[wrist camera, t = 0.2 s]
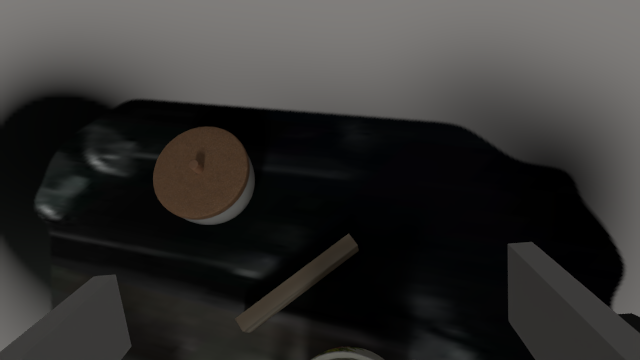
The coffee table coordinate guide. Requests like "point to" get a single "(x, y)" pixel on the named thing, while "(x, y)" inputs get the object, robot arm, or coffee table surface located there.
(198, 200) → the lidded jar
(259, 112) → the coffee table surface
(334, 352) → the pitcher
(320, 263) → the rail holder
